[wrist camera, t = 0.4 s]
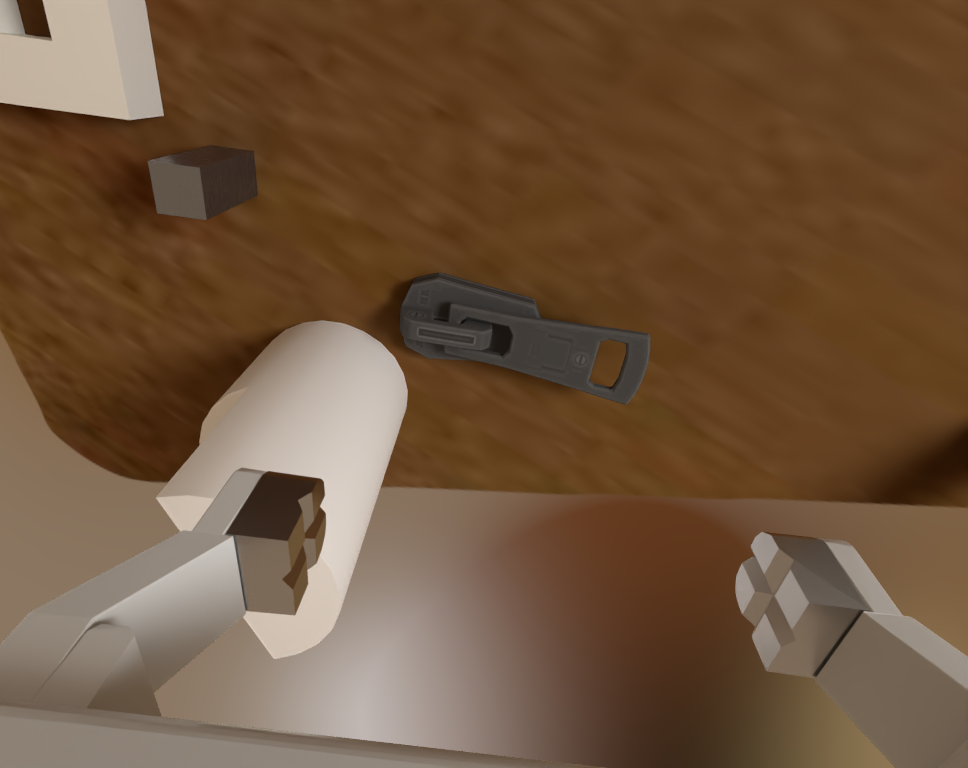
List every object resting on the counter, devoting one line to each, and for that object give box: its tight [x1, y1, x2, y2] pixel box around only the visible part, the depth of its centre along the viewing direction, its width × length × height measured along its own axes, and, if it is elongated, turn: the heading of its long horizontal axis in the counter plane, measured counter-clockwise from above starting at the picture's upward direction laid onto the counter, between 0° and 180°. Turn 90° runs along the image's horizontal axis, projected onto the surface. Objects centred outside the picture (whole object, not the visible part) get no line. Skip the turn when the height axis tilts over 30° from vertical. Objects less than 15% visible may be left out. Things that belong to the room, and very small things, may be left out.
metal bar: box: [148, 145, 258, 220], centre depth 47 cm, size 4×4×10 cm
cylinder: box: [156, 321, 408, 659], centre depth 51 cm, size 17×17×28 cm
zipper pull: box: [400, 273, 650, 404], centre depth 55 cm, size 9×7×25 cm
